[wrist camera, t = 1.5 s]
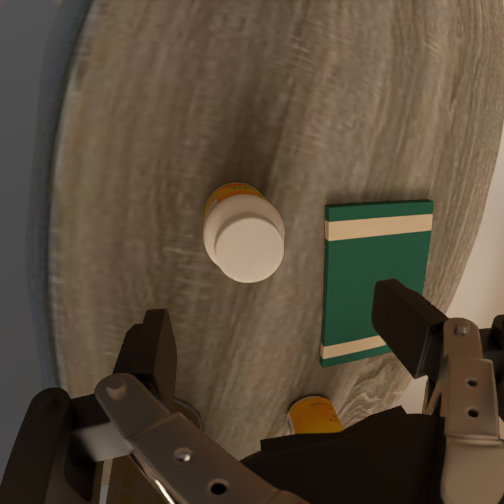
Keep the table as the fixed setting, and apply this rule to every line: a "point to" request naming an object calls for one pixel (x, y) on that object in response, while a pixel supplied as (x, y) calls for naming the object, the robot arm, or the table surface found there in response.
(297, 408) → the beer can
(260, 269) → the supplement bottle
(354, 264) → the towel
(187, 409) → the canister
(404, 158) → the table surface
